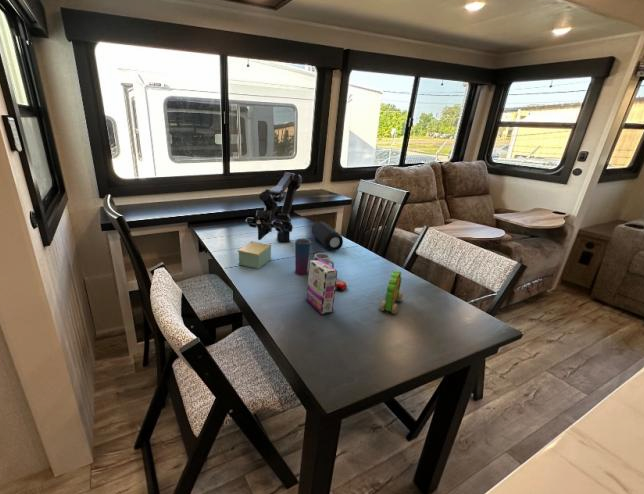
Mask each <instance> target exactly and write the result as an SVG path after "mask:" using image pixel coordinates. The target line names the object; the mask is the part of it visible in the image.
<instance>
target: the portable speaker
mask: <svg viewBox="0 0 644 494" xmlns="http://www.w3.org/2000/svg"><path fill="white" fill-rule="evenodd" d="M311 234H312V235H313V237H314V238H315V239H317V240H318V241H319V242H320V243H321V244H322V245H323V246H324V247H325V249H327V250H329V251H338V250H340V249H342V247H343V244H344V238H343V236H342V235H341V234H340V233H339V232H338V231H336V230H335V229H334V228H332V227H331V226H330V225H329V224H327V223H326V222H325V221H316V222H315V223H313V224H312V226H311Z"/></svg>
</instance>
